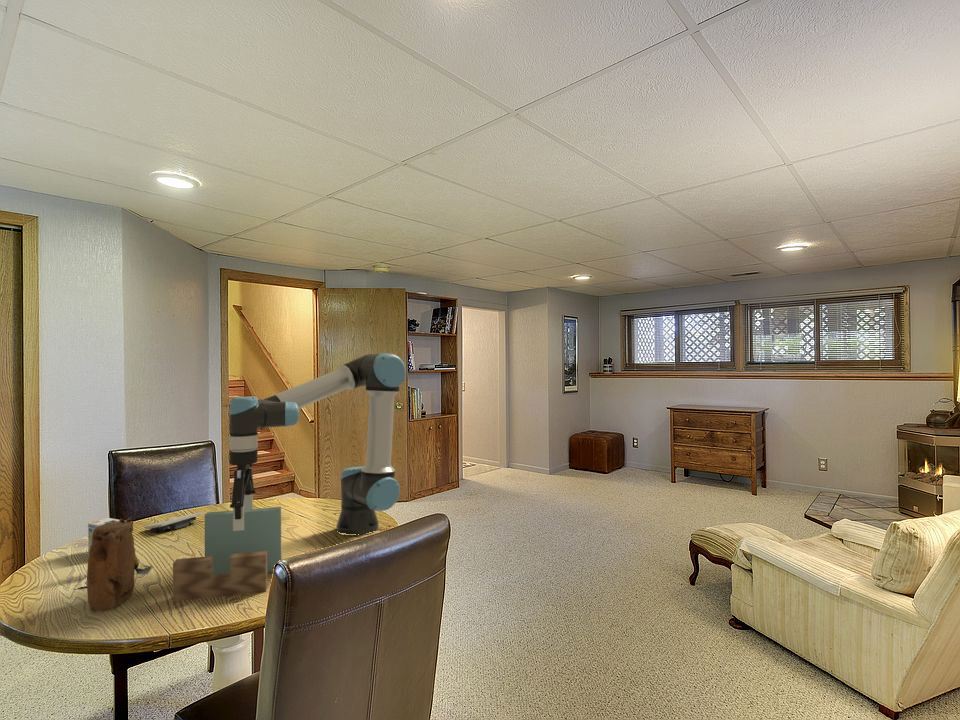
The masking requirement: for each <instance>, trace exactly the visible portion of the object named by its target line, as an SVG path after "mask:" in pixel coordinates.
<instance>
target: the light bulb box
mask: <svg viewBox="0 0 960 720" xmlns="http://www.w3.org/2000/svg"><path fill="white" fill-rule="evenodd" d="M119 520H120V519H117V518H113V517H112V518H111V517H105V518H102V519H99V520H94V521H90V522H88V523H87V528H88V530H87V531H88V533H87V534H88V536H87V537H88V539H87V541H88V544H87V546H88V553H89V551H90V546H91V545H92V534H93V531H94V529H95V528H97V527H98V526H100V525H103V524H105V523H109V522H119Z"/></svg>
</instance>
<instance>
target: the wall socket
mask: <svg viewBox="0 0 960 720" xmlns="http://www.w3.org/2000/svg"><path fill="white" fill-rule="evenodd" d="M202 515H205V511H200V512H194V513H189V514H185V515H182V516H178V517H176V516H172V517H170V518H167V519H166V520H164V521H160V522H157V523H154V524H150V525H147V526H144V530H149V529H150V530H151V532H158V531H162V532H163V531H166V530H167V529H168V530H169V529H170V530H178V529H182V528H184V527H187V526H189V525H190V523H193V521H196V519H197V517H198V516H202Z"/></svg>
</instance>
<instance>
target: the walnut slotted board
mask: <svg viewBox="0 0 960 720" xmlns="http://www.w3.org/2000/svg"><path fill="white" fill-rule="evenodd" d="M267 590H268V572H267V551H258V552H248V553H237V554H232V555H231V557H230V573H225V574H216V575H213V556H206V557H205V556H197V557H196V556H195V557H187V558H185V557H184V558H177V559H175V560H174V561H173V563H172V602H182V601H191V600H201V599H211V598H221V597H230V596H231V597H232V596H238V595H239V596H240V595H248V594H257V593H266V592H267Z"/></svg>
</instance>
